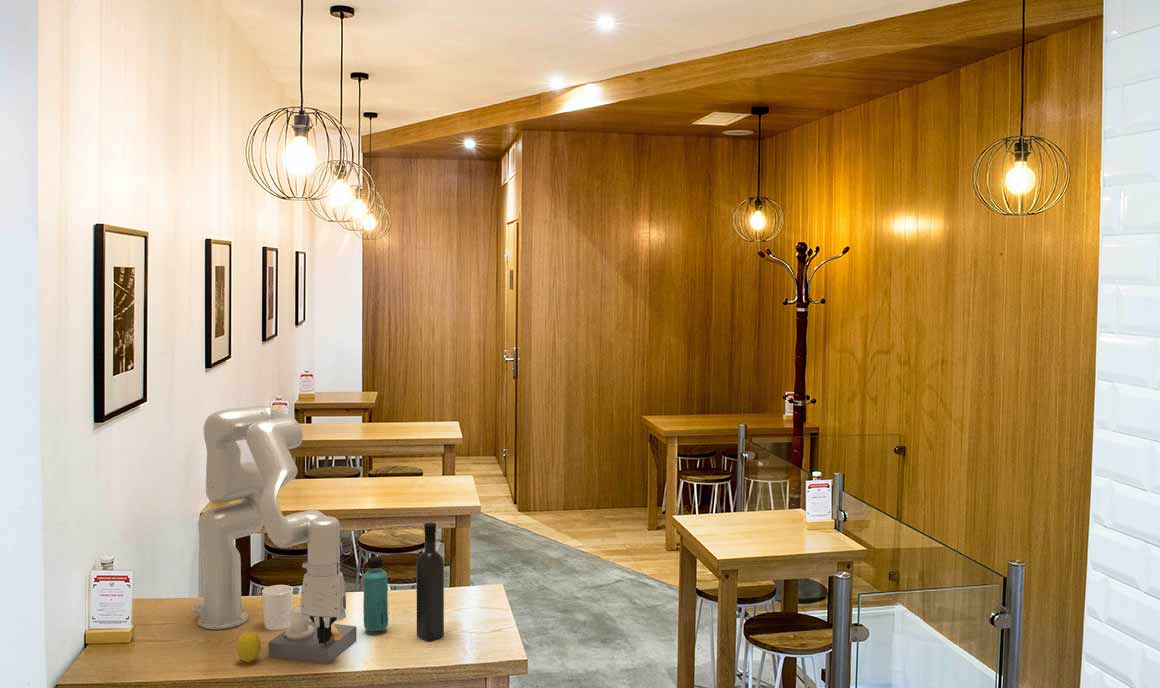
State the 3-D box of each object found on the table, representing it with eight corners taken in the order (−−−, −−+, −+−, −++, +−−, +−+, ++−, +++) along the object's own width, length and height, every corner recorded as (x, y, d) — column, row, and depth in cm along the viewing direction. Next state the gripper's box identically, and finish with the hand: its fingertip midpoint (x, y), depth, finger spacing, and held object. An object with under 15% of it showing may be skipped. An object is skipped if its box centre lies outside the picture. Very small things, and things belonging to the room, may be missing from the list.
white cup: (299, 623, 254) (299, 587, 253) (278, 633, 247) (278, 596, 246) (277, 618, 257) (276, 583, 257) (256, 628, 250) (255, 591, 249)
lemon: (240, 658, 231) (239, 626, 230) (263, 658, 231) (262, 626, 231) (234, 668, 225) (233, 635, 225) (257, 667, 226) (257, 635, 225)
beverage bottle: (382, 637, 245) (382, 562, 243) (358, 635, 246) (358, 560, 245) (392, 628, 251) (392, 555, 250) (369, 626, 253) (368, 553, 251)
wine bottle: (414, 636, 246) (414, 523, 244) (432, 630, 250) (432, 519, 248) (428, 642, 242) (428, 528, 240) (445, 636, 246) (445, 524, 244)
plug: (280, 653, 234) (279, 613, 233) (294, 643, 240) (294, 604, 239) (305, 656, 232) (304, 616, 231) (318, 645, 239) (318, 606, 238)
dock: (268, 657, 232) (268, 642, 231) (300, 634, 246) (300, 620, 246) (327, 664, 228) (327, 648, 228) (356, 641, 242) (356, 626, 242)
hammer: (343, 646, 229) (343, 631, 229) (333, 647, 228) (333, 632, 228) (328, 624, 243) (328, 610, 243) (319, 625, 242) (318, 611, 242)
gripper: (287, 571, 225) (288, 645, 227) (348, 575, 224) (348, 649, 225) (300, 561, 233) (301, 633, 234) (359, 565, 231) (359, 637, 233)
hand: (324, 641), depth 230 cm, fingers closed
